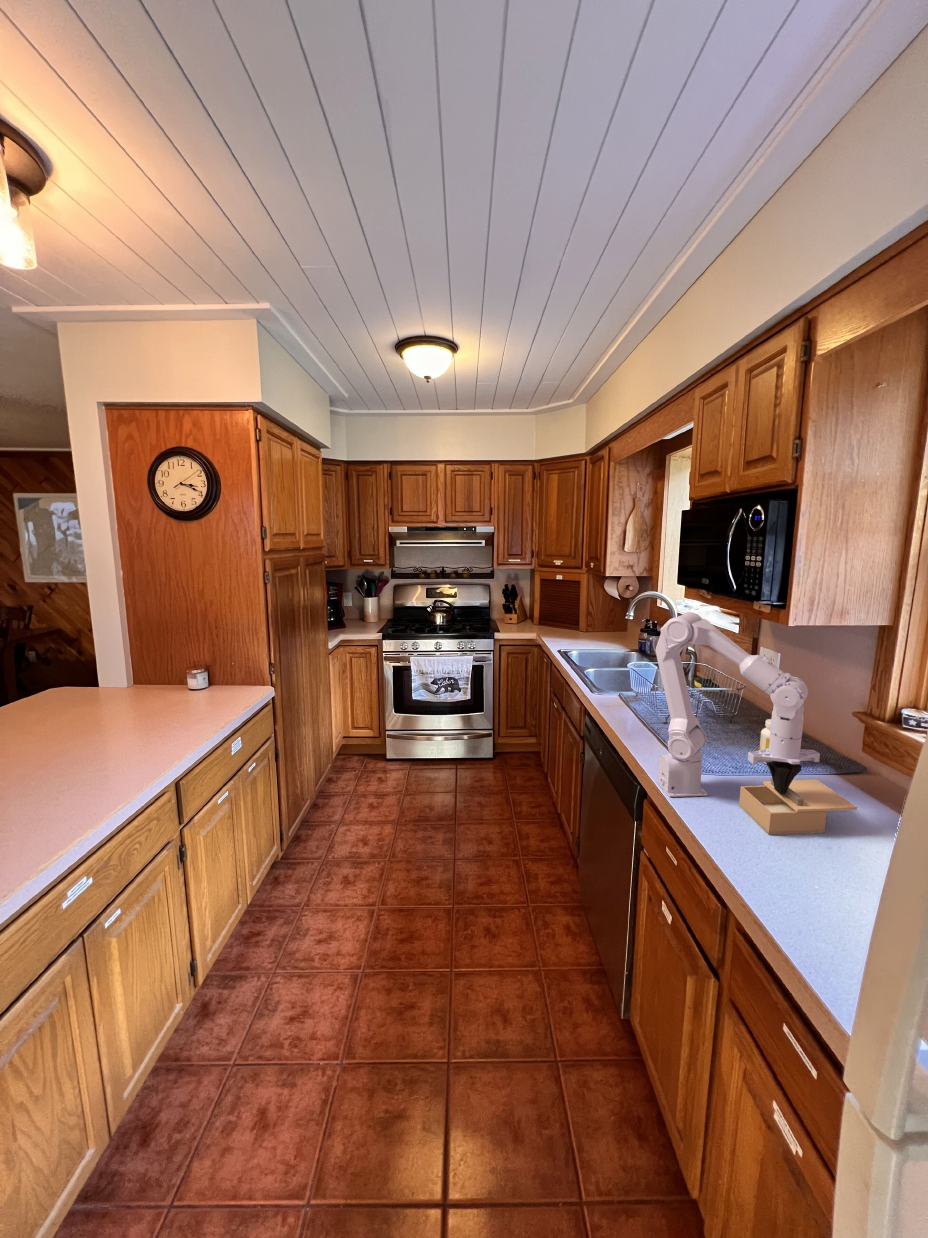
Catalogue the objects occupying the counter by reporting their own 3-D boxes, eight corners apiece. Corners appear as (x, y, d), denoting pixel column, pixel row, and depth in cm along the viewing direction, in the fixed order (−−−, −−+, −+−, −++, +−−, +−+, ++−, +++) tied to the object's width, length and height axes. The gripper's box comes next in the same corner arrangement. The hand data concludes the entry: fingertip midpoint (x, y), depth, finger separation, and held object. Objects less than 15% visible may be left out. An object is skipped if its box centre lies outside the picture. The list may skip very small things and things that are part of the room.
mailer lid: (797, 812, 104) (798, 803, 103) (763, 783, 115) (763, 775, 115) (856, 810, 104) (857, 800, 103) (816, 781, 115) (817, 773, 115)
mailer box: (768, 835, 105) (770, 813, 104) (739, 806, 116) (740, 786, 115) (824, 832, 105) (826, 811, 104) (789, 804, 116) (791, 784, 115)
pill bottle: (790, 768, 132) (794, 727, 130) (763, 766, 134) (767, 726, 131) (780, 757, 139) (784, 718, 136) (755, 756, 140) (758, 717, 138)
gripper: (763, 743, 102) (758, 802, 105) (832, 740, 103) (826, 800, 105) (744, 729, 109) (739, 785, 112) (809, 727, 110) (803, 783, 112)
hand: (780, 791), depth 109 cm, fingers closed
